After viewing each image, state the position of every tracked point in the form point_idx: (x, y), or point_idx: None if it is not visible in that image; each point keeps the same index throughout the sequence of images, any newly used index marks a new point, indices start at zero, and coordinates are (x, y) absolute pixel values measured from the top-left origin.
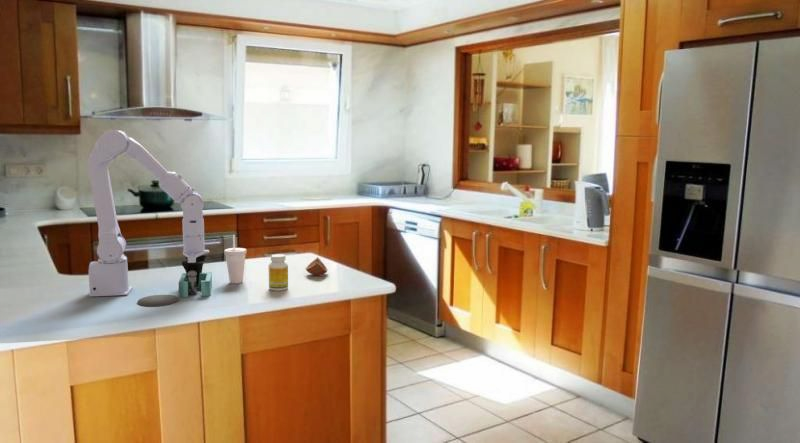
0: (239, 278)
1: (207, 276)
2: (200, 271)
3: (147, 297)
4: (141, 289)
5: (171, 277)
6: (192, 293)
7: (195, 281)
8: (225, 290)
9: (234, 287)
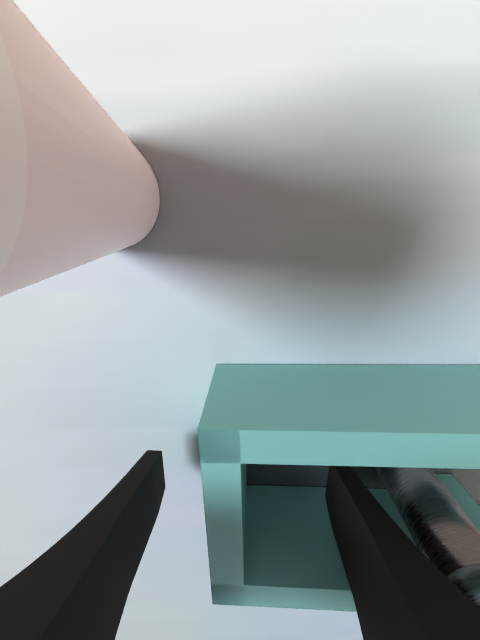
0: (137, 150)
1: (376, 458)
2: (134, 504)
3: None
4: (231, 625)
5: (6, 546)
6: None
7: (470, 521)
8: (366, 271)
9: (289, 204)
